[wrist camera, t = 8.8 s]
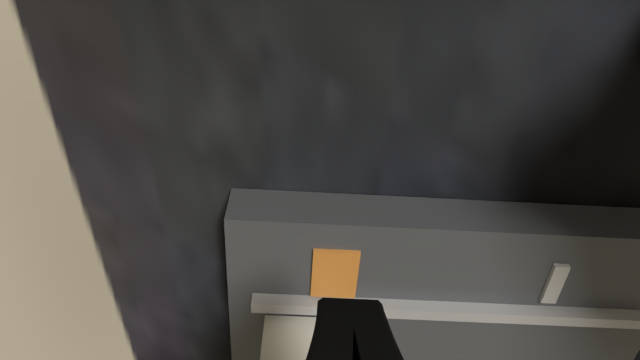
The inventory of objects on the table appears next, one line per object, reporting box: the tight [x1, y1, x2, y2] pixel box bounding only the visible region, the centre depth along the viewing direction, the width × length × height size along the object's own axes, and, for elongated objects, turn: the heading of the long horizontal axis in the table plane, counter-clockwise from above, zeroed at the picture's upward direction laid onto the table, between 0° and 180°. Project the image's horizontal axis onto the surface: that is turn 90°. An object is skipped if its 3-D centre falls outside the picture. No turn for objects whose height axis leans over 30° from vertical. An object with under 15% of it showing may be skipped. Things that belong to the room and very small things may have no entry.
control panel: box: [224, 188, 640, 360], centre depth 25 cm, size 18×14×3 cm
